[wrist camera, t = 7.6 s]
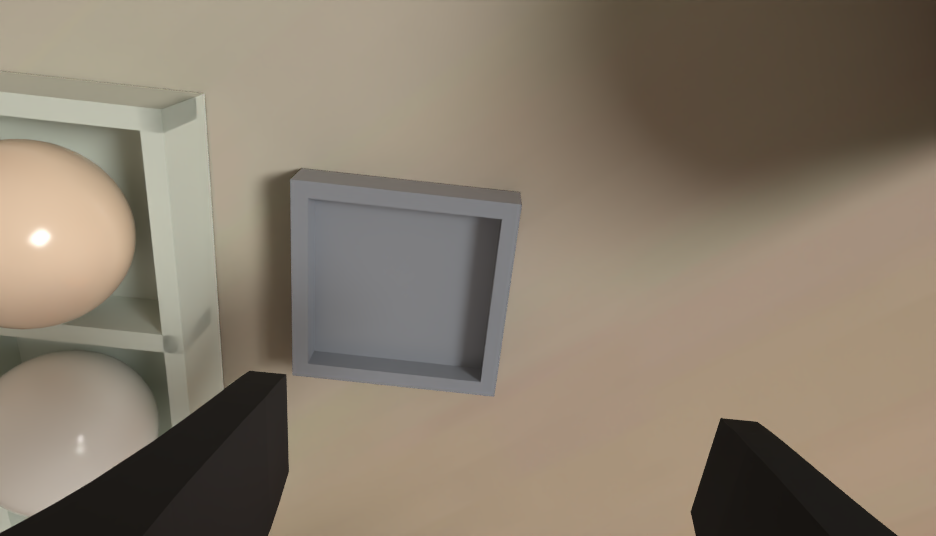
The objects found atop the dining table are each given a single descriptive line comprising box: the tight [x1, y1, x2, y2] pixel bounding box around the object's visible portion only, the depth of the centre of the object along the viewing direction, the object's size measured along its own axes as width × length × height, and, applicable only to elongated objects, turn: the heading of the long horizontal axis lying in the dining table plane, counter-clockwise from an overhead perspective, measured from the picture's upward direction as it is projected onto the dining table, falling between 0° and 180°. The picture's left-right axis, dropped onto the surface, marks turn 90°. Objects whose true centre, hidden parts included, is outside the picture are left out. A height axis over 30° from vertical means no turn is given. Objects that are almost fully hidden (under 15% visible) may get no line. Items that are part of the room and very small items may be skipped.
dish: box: [290, 168, 522, 396], centre depth 20 cm, size 7×7×1 cm
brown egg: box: [0, 139, 136, 329], centre depth 17 cm, size 5×5×5 cm
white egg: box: [0, 350, 159, 517], centre depth 19 cm, size 5×5×5 cm
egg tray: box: [0, 71, 224, 533], centre depth 21 cm, size 20×14×3 cm
